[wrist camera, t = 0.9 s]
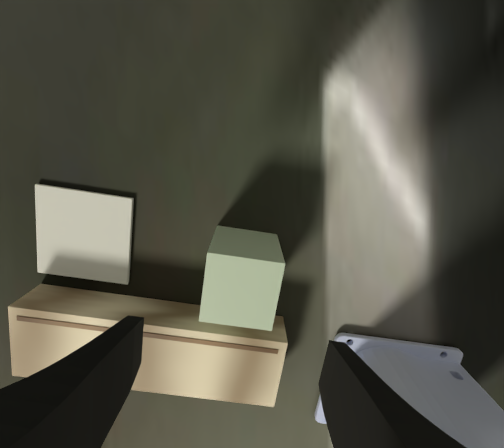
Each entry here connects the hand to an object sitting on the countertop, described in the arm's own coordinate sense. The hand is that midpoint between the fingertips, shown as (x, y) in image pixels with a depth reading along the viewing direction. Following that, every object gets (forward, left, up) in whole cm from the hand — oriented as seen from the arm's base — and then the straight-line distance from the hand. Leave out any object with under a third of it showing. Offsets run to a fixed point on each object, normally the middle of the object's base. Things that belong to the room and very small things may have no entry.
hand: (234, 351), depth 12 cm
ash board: (+5, +6, -9) cm, 12 cm away
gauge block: (0, 0, -10) cm, 10 cm away
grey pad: (+10, 0, -9) cm, 14 cm away
